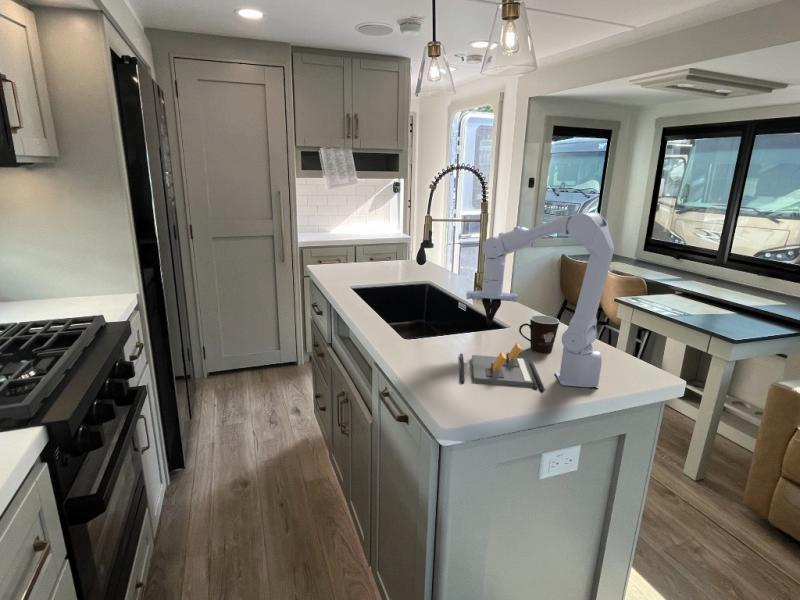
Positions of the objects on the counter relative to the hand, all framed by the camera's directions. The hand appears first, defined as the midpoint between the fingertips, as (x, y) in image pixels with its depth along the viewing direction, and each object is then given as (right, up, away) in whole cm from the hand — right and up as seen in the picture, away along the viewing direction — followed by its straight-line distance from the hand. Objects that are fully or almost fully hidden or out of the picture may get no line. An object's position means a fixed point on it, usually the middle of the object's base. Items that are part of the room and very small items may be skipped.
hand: (489, 323), depth 136 cm
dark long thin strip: (+9, -14, -11) cm, 20 cm away
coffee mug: (+16, -9, +9) cm, 21 cm away
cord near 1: (+11, -14, -11) cm, 21 cm away
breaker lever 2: (+5, -10, -6) cm, 12 cm away
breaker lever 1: (-1, -11, -14) cm, 18 cm away
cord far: (-9, -12, -8) cm, 17 cm away
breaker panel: (+1, -13, -9) cm, 16 cm away
